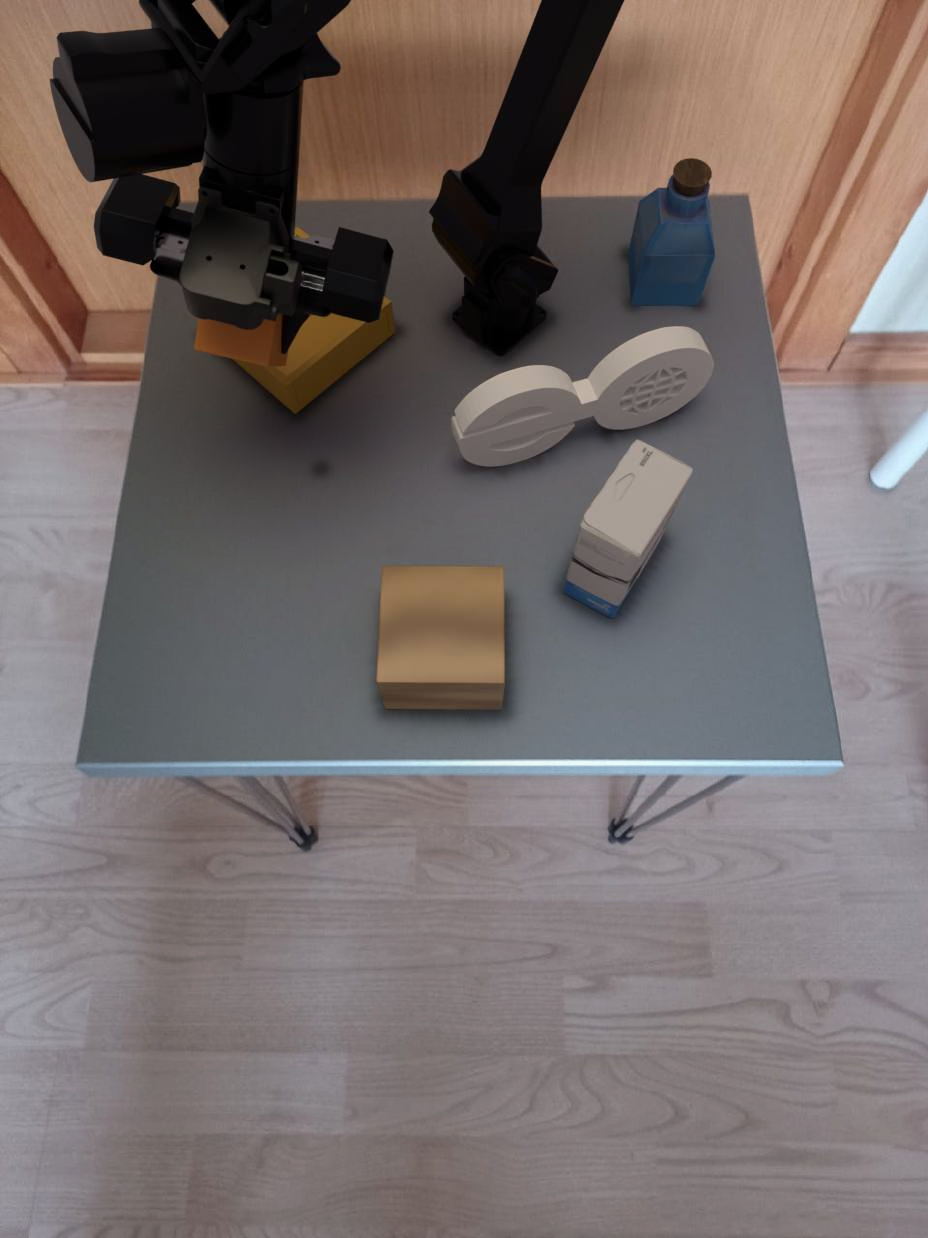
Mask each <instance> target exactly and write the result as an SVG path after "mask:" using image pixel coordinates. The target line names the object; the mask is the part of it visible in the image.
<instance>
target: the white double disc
mask: <svg viewBox="0 0 928 1238" xmlns="http://www.w3.org/2000/svg"><path fill="white" fill-rule="evenodd" d="M714 369H715V361H714V358H713V356H712V354H711V352H710V351H709V348H708V347H707V345H706V343H705V341H704V338H703V337H702V335H701V334H700V333H699V332H698V331H696V330H695V329H693V328H691V327H689V326H681V325H675V326H674V325H673V326H663V327H660V328H656V329H651V330H650V331H646V332H644V333H641V334H638V335H637V336H635V337H633V338H630V339H629V340H626V341H625V342H624V343H621V344H620V345H619V346H618V347H616V348H614V349H613V350H612V351H611V352H609V353H608V354H607V355H606V356H604V358H602V359H601V360H600V361H599V362H598V364H597V365H596V366H595V367H594V368H593V369H592V371H591V372H590V374H589V375H588V376H587V378H583V379H579V380H575V381H572V379H571V377H570V376H569V374H567V372H565V371H564V370H562V369H560V368H558V367H555V366H553V365H545V364H533V365H526V366H525V365H524V366H520V367H517V368H514V369H510V370H506V371H504V372H501V373H499V374H496V375H495V376H492V377H491V378H489V379H487V380H485V381H484V382H482V383H481V384H479V385H478V386H476V387H475V388H474V389H472V390H471V391H470V392H468V394H466V395H465V397H463V398H462V400H461V401H460V402H459V403H458V405H456V408H455V409H454V414H455V415H453V416H451V419H450V420H451V423H450V425H451V432H452V434H453V437H454V440H455V443H456V445H457V448H458V450H459V453H460V455H461V457H462V458H463V459H464V460H466V461H467V462H469V463H471V464H472V465H476V466H479V467H480V466H481V467H489V468H491V467H503V466H508V465H512V464H516V463H520V462H522V461H527V460H528V459H532V458H533V457H536V456H537V455H540V454H541V453H544V452H545V451H547V450H549V449H550V448H552V447H553V446H555V445H556V444H558V443H559V442H561V440H563V439H564V438H565V437H567V435H568V434H569V433H570V432H571V431H572V430H573V429H574V428H575V426H576V425H575V422H577V421H580V420H584V419H587V418H591V417H593V418H594V420H595V421H596V422H597V424H598V425H600V426H601V427H602V428H605V429H608V430H617V431H620V430H622V431H623V430H631V429H636V428H640V427H643V426H646V425H650V424H652V423H656V422H657V421H659V420H662V419H664V418H666V417H668V416H670V415H672V414H673V413H675V412H677V411H678V410H679V409H681V408H682V407H684V406H685V405H687V404H688V403H690V401H692V400H693V399H694V398H696V396H697V395H699V394H700V392H701V391H702V390H703V389H704V388H705V387H706V385H707V384H708V382H709V381H710V379H711V377H712V375H713V373H714Z"/></svg>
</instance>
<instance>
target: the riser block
mask: <svg viewBox="0 0 928 1238" xmlns="http://www.w3.org/2000/svg"><path fill="white" fill-rule="evenodd" d="M379 599H380V600H379V617H378V618H379V619H378V637H377V638H378V639H377V654H376V655H377V657H376V679H375V683H376V685H377V688H378V692H379V694H380V697H381V700H382V702H383V706H384V709H386V710H462V711H463V710H466V711H467V710H468V711H469V710H473V711H474V710H475V711H476V710H477V711H501V710H502V709H503V701H504V694H505V686H506V629H505V627H506V626H505V625H506V623H505V622H506V621H505V619H506V617H505V616H506V615H505V611H506V610H505V608H506V607H505V566H497V565H496V566H487V565H486V566H481V565H480V566H479V565H477V566H476V565H472V566H471V565H464V566H463V565H382V566H381V577H380V598H379Z"/></svg>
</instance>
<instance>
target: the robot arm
mask: <svg viewBox="0 0 928 1238" xmlns="http://www.w3.org/2000/svg"><path fill="white" fill-rule="evenodd" d="M196 1H197V0H138V4H139V7H140V8H141V10H142V11H143V13H144V14H145V15H146V17H147V18H148V20H149V21H150V25H151V26H150V27H151V28H141V29H131V30H119V31H110V32H109V31H108V32H95V31H94V32H93V31H88V30H75V31H74V30H73V31H72V30H71V31H63V32H62V31H61V32H59V33H58V34H57V36H56V42H57V49H58V54H59V56H55V57H54V59H53V61H52V78H49V86H50V92H51V96H52V101H53V106H54V109H55V113H56V116H57V120H58V122H59V126H60V128H61V132H62V135H63V138H64V140H65V143H66V146H67V148H68V150H69V152H70V155H71V157H72V159H73V161H74V163H75V165H76V167H77V169H78V171H79V173H80V174H81V175H82V177H83V178H84V179H85V180H86V181H87V182H89V183H96V182H102V181H109V180H112V181H111V182H110V184H109V186H108V188H107V190H106V192H105V194H104V195H103V198H102V199H101V202H100V204H99V206H98V207H97V209H96V211H95V213H94V221H93V231H94V238H95V243H96V248H97V250H98V251H99V252H100V254H101V255H102V256H104V257H108V258H111V259H114V260H118V261H119V260H120V261H123V262H127V263H131V264H134V265H140V266H145V265H147V264H149V269H150V271H151V272H152V273H153V274H154V275H155V276H158V277H161V278H166V279H169V280H171V281H175V282H177V283H178V284H179V285H180V287H181V290H182V294H183V297H184V301H185V304H186V308H187V310H188V312H189V313H190V314H191V315H192V316H193V317H195V318H197V319H198V318H200V319H204V320H207V319H210V320H214V321H218V322H222V323H226V324H230V325H234V326H236V327H238V328H241V329H245V330H252V329H256V328H258V327H259V326H260V325H261V324H262V322H263V320H264V319H266V320H271V321H274V322H275V321H276V318H277V316H278V315H279V314H285V315H286V319H285V323H284V327H283V332H282V337H281V354H286V353H287V351H288V349H289V347H290V346H291V344H292V342H293V340H294V338H295V337H296V335H297V333H298V331H299V330H300V328H301V326H302V325H303V324H304V322H305V321H306V320H307V319H308V318H309V317H310V316H311V315H315V316H320V317H327V316H329V315H330V314H331V313H332V314H336V315H340V316H344V317H348V318H351V319H355V320H359V321H363V322H367V323H371V322H374V321H376V320H379V317H380V313H381V308H382V304H383V300H384V296H385V295H386V291H387V287H388V284H389V283H388V282H389V279H390V273H391V269H392V263H393V258H394V253H395V252H394V249H393V247H392V246H391V244H390V242H389V240H388V239H386V238H382V237H380V236H379V237H378V236H374V235H371V234H367V233H364V232H360V231H356V230H352V229H349V228H345V227H341V226H338V229H337V232H336V235H335V239H333V238H329V237H326V236H323V235H318V234H313V235H309V237H308V238H301V237H297V236H294V235H295V228H296V215H297V203H298V202H297V201H298V182H299V166H300V150H301V136H302V135H301V132H302V117H303V100H304V87H305V86H304V85H305V84H304V83H305V82H304V81H307V80H310V79H319V78H326V77H334V76H337V75H338V74H339V73H340V72H341V68H342V67H341V62H339V60H338V59H337V57H335V55H334V54H333V53H332V51H330V49H329V48H328V46H326V45H325V42H323V41H322V40H321V38H320V36H319V32H320V31H322V29H324V28H325V27H326V26H327V25H328V24H329V23H330V22H332V21H333V20H334V19H335V18H336V17H337V16H338V15H339V14H341V12H343V11H344V10H345V9H346V8H347V7H348V6H349V5H350V3H351V1H352V0H207V1H208V2H209V4H210V5H211V6H212V7H213V9H214V10H215V11H216V13H217V14H218V16H219V17H220V18H221V19H222V20H223V22H224V23H225V24H226V26H227V28H226V30H224V32H223V33H222V35H221V37H218V36H217V34H216V33H215V32H214V31H213V29H212V28H211V27H210V25H209V24H208V23H207V22H206V20H205V19H204V17H203V16H202V15H201V14H200V12H199V11H198V10H197V8H196V7H195V6H194V4H193V3H195V2H196ZM624 3H625V0H540V3H539V5H538V9H537V11H536V14H535V16H534V19H533V21H532V23H531V26H530V29H529V31H528V34H527V36H526V40H525V42H524V44H523V47H522V50H521V52H520V55H519V58H518V59H517V60H518V61H517V63H516V65H515V68H514V71H513V73H512V76H511V79H510V82H509V84H508V86H507V89H506V91H505V94H504V97H503V99H502V102H501V105H500V107H499V109H498V113H497V115H496V117H495V120H494V123H493V125H492V128H491V130H490V133H489V136H488V138H487V140H486V144H485V146H484V149H483V150H482V152H481V154H480V155H479V156H478V157H476V159H474V160H473V161H472V162H470V163H469V164H467V165H466V166H465V167H463V168H462V169H460V170H456V169H452V168H451V169H450V168H449V169H447V170H446V172H445V173H444V174H443V175H442V178H441V179H442V180H441V185H440V189H439V193H438V195H437V197H436V200H435V202H433V205H432V206H431V207H430V209H429V210H428V213H429V215H430V216H431V217H432V222H431V232H432V233H433V236H434V238H435V240H436V241H437V243H438V244H439V245H440V246H441V248H442V249H443V250H444V251H445V253H446V254H447V255H448V257H449V258H450V259H451V260H452V262H453V263H454V265H456V267H457V268H458V269H459V270H460V272H461V273H462V274H463V275H464V277H463V295H461V304H460V305H459V306H458V307H457V308H456V309H455V310H453V311H452V313H451V320H452V321H453V322H455V323H456V324H457V325H458V326H460V327H461V330H463V331H464V332H465V333H467V334H468V335H469V336H470V337H472V338H473V339H474V340H476V341H477V342H478V343H479V344H481V345H484V346H485V347H486V348H488V349H489V350H490V351H491V352H493V353H494V354H495V355H497V356H501V357H502V356H505V355H506V354H507V353H508V352H509V351H511V349H513V348H514V347H515V346H516V345H517V344H518V343H520V342H521V341H522V340H523V339H524V338H526V337H527V336H528V335H530V333H531V332H533V331H534V330H535V329H536V328H537V327H539V326H540V324H542V323H543V322H544V321H545V320H547V317H548V311H547V310H546V309H545V308H544V307H542V306H541V305H539V304H538V303H537V301H538V299H539V298H540V296H541V295H543V294H545V293H547V292H548V291H550V290H551V289H552V287H553V285H554V283H555V281H556V278H557V275H558V273H559V269H558V267H557V266H556V265H555V264H554V263H553V262H552V260H551V259H550V258H549V257H548V256H547V255H546V253H545V252H544V251H543V249H541V247H540V246H539V245H538V243H539V240H540V237H541V234H542V231H543V197H542V187H543V183H544V179H545V178H546V175H547V173H548V171H549V168H550V167H551V164H552V162H553V160H554V158H555V155H556V153H557V151H558V149H559V146H560V144H561V142H562V140H563V137H564V135H565V133H566V131H567V128H568V127H569V124H570V122H571V120H572V118H573V115H574V113H575V111H576V110H577V109H576V108H577V107H578V104H579V102H580V100H581V98H582V96H583V93H584V91H585V89H586V87H587V84H588V82H589V80H590V77H591V75H592V73H593V71H594V69H595V67H596V64H597V63H598V60H599V58H600V56H601V54H602V51H603V49H604V47H605V45H606V42H607V40H608V38H609V35H610V33H611V31H612V29H613V27H614V24H615V23H616V20H617V18H618V16H619V14H620V11H621V9H622V7H623V5H624ZM198 163H202V170H201V172H200V174H199V177H198V190H197V199H198V200H197V203H196V206H195V209H194V211H193V212H192V211H189V210H183V209H180V208H178V207H179V206H180V204H181V202H182V201H181V188H180V186H179V185H178V184H177V183H176V182H173V181H169V180H166V179H162V178H158V177H154V176H150V175H147V174H150V173H157V172H163V171H168V170H174V169H180V168H187V167H190V166H192V165H193V164H198ZM385 297H386V296H385Z"/></svg>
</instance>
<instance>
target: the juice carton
mask: <svg viewBox="0 0 928 1238" xmlns="http://www.w3.org/2000/svg"><path fill="white" fill-rule="evenodd" d="M285 319H286V315H285V314H279V315H278V316H277V318H276V321H275V322H274V321H271V320H266V319H264V320H263V322H262V324H261V325H260V326H259V327H258V328H256V329H252V330H245V329H241V328H238V327H236V326H234V325H230V324H226V323H222V322H218V321H214V320H210V319H207V320H204V319H200V318H197V325H196V332H195V339H194V344H193V345H194V347H193V350H195V351H198V352H200V353H201V352H202V353H206V354H210V355H215V356H219V357H223V358H227V359H230V360H231V359H232V360H233V359H236V360H240V361H244V362H249V363H253V364H257V365H261V366H266V367H274V366H286V362H287V356H288V351H287V353H286V354H281V337H282V332H283V327H284V323H285ZM288 350H289V349H288Z"/></svg>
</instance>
